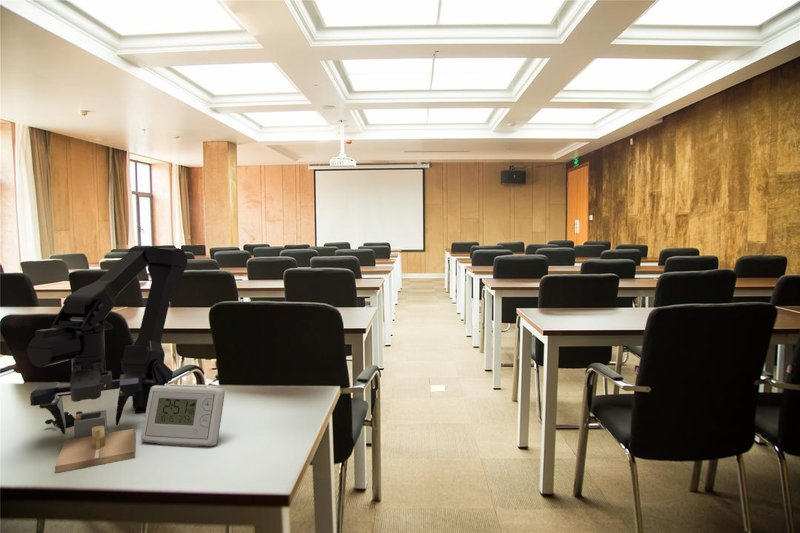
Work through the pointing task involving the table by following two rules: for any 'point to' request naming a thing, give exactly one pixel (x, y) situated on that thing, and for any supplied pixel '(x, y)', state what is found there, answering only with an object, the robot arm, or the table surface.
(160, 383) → the robot arm
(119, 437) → the wooden base plate
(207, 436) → the digital clock
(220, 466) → the table surface
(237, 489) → the table surface
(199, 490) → the table surface
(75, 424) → the square gray frame
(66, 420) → the wireless earbuds
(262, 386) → the table surface
